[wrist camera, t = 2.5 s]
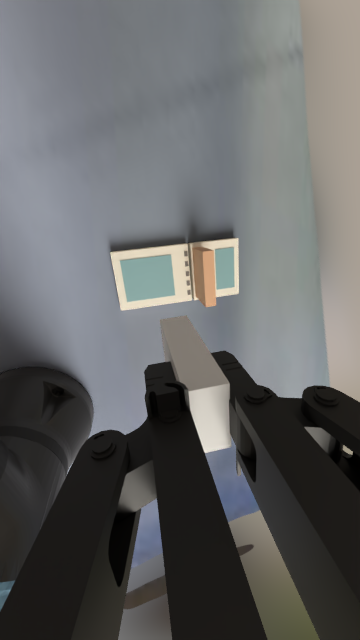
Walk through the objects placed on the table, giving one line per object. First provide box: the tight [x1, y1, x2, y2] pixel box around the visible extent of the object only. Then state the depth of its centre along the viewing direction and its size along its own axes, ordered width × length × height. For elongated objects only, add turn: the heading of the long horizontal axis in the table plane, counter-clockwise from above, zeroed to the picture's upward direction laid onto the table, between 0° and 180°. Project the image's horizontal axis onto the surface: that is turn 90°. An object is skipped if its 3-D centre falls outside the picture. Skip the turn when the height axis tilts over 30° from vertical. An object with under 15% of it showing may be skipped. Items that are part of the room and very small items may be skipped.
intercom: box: [188, 238, 239, 307], centre depth 30 cm, size 6×7×6 cm
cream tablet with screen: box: [110, 243, 192, 311], centre depth 31 cm, size 9×7×1 cm
